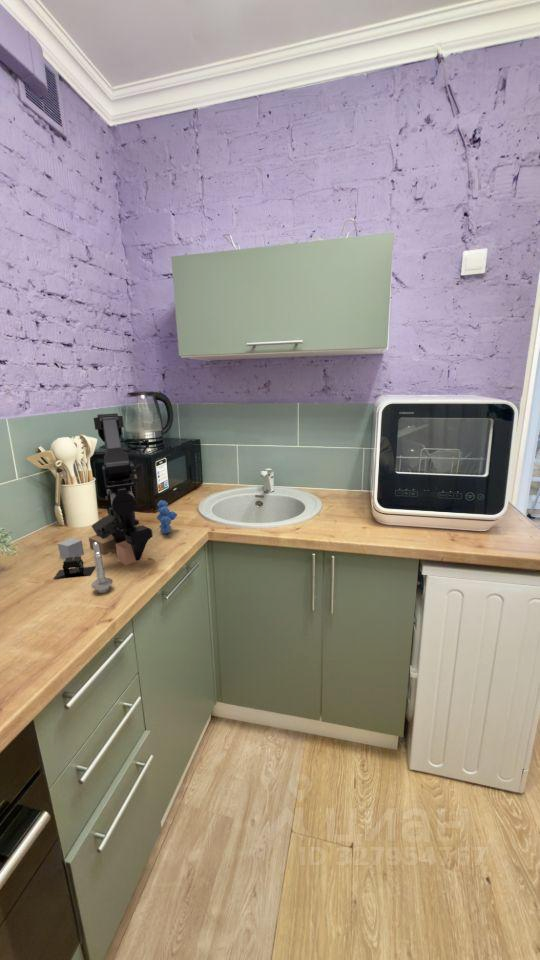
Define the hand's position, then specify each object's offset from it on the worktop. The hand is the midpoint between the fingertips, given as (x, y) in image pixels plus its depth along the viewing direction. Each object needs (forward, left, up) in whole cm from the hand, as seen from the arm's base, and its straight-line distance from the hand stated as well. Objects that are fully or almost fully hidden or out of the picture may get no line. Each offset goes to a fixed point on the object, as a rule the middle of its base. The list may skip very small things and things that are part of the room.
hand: (129, 555), depth 114 cm
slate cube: (+10, -16, -1) cm, 19 cm away
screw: (+13, +11, -1) cm, 17 cm away
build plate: (+14, -4, -2) cm, 15 cm away
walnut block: (0, -13, -1) cm, 13 cm away
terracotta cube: (0, 0, -1) cm, 1 cm away
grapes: (-18, -8, -1) cm, 20 cm away
